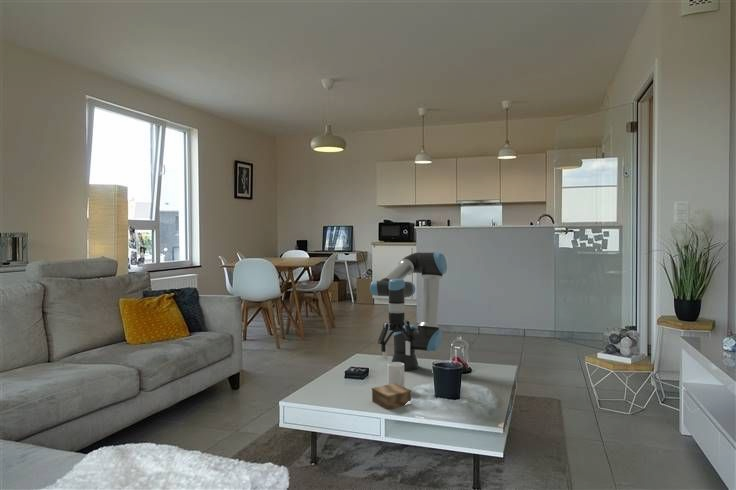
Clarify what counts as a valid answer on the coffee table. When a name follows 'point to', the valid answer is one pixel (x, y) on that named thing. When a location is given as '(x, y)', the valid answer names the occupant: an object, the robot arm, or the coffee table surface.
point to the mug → (395, 373)
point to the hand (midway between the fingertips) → (396, 356)
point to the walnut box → (391, 396)
